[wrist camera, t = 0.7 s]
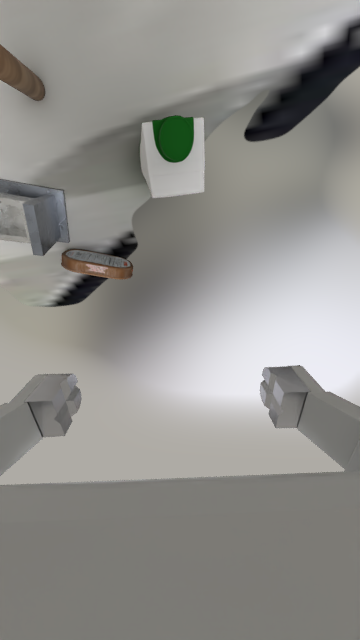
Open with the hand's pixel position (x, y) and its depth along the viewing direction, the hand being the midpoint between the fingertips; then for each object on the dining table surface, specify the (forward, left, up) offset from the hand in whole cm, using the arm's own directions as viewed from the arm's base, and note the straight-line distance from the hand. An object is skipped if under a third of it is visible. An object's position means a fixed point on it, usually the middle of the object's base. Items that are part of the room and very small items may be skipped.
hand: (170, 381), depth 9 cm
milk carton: (-2, +9, -46) cm, 47 cm away
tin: (+1, -15, -46) cm, 49 cm away
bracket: (-14, -16, -46) cm, 51 cm away
